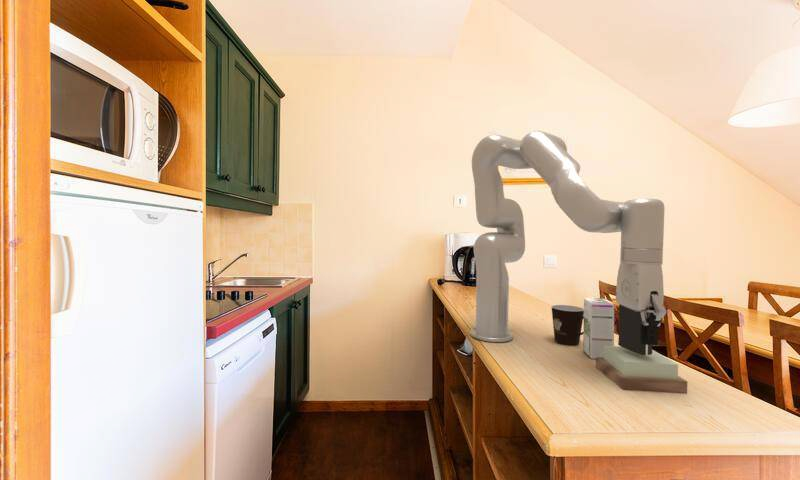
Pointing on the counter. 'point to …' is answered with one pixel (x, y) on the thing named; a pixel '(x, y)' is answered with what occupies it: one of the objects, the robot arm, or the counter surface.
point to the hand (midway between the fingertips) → (638, 337)
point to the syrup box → (597, 326)
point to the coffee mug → (567, 324)
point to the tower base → (641, 380)
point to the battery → (632, 331)
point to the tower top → (640, 363)
